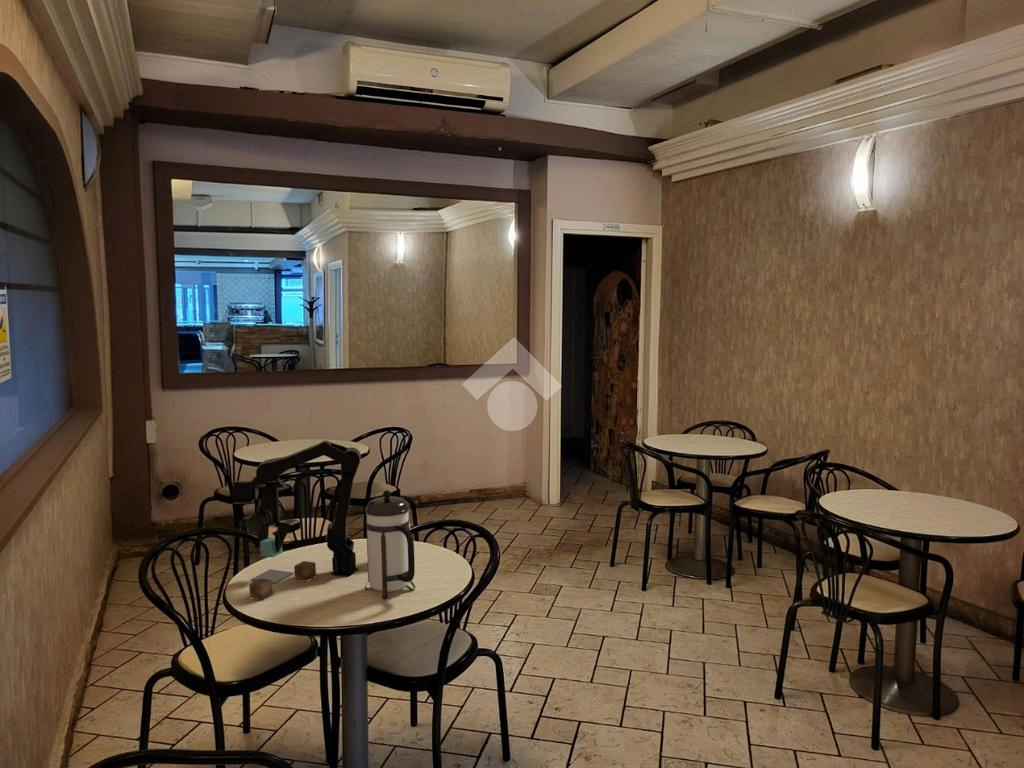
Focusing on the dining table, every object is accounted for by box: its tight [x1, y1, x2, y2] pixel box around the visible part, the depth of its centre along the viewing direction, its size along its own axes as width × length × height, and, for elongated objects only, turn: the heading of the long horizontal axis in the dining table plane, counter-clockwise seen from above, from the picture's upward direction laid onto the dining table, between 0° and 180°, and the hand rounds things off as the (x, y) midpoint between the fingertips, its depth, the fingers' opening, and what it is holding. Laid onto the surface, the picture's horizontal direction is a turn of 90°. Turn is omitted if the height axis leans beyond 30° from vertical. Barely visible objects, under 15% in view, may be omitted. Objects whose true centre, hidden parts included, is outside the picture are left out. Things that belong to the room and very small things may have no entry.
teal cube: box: [259, 536, 283, 558], centre depth 225 cm, size 4×4×4 cm
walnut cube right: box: [293, 560, 317, 582], centre depth 225 cm, size 4×4×4 cm
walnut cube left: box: [248, 579, 274, 601], centre depth 211 cm, size 4×4×4 cm
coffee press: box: [364, 489, 416, 600], centre depth 213 cm, size 17×16×30 cm
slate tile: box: [250, 569, 295, 585], centre depth 226 cm, size 9×9×1 cm
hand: (271, 551), depth 225 cm, fingers closed on teal cube, 4 cm apart
